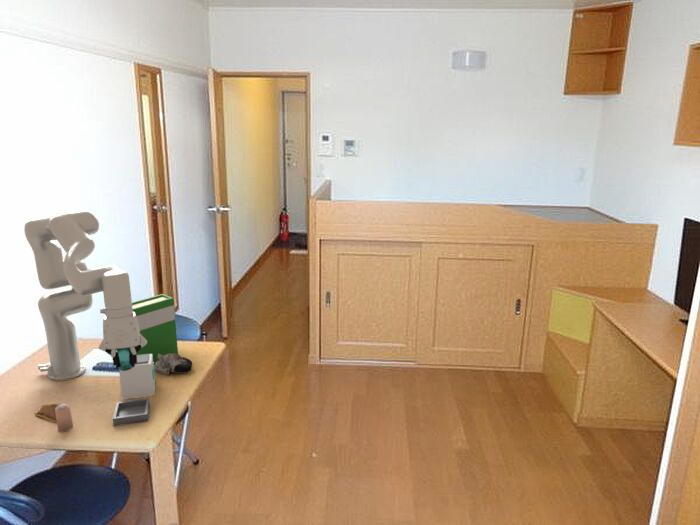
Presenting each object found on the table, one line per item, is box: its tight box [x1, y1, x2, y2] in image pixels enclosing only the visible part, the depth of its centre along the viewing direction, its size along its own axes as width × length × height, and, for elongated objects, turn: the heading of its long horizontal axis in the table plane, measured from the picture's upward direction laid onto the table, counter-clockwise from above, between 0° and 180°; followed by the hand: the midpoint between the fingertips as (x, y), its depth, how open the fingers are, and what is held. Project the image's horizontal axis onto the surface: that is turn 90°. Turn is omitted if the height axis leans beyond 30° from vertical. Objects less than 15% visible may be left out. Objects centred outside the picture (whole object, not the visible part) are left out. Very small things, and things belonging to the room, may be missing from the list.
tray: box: [112, 397, 151, 427], centre depth 168 cm, size 10×10×2 cm
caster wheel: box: [154, 353, 194, 377], centre depth 197 cm, size 7×11×10 cm
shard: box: [34, 402, 62, 424], centre depth 167 cm, size 11×8×2 cm
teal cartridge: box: [116, 348, 133, 371], centre depth 163 cm, size 4×4×8 cm
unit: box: [118, 354, 156, 400], centre depth 181 cm, size 11×8×13 cm
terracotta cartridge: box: [55, 403, 74, 432], centre depth 160 cm, size 4×4×8 cm
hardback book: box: [131, 293, 179, 363], centre depth 204 cm, size 18×7×24 cm, turn 140°
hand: (125, 365), depth 164 cm, fingers closed on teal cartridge, 4 cm apart
